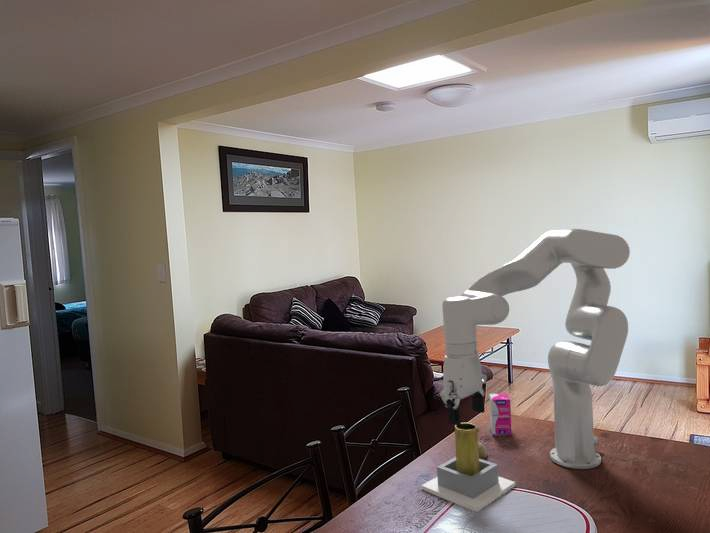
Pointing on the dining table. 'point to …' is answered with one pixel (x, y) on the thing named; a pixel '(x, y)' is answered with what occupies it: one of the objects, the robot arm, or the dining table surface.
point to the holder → (468, 485)
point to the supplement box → (500, 414)
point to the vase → (467, 449)
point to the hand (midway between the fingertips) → (466, 417)
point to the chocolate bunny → (481, 449)
